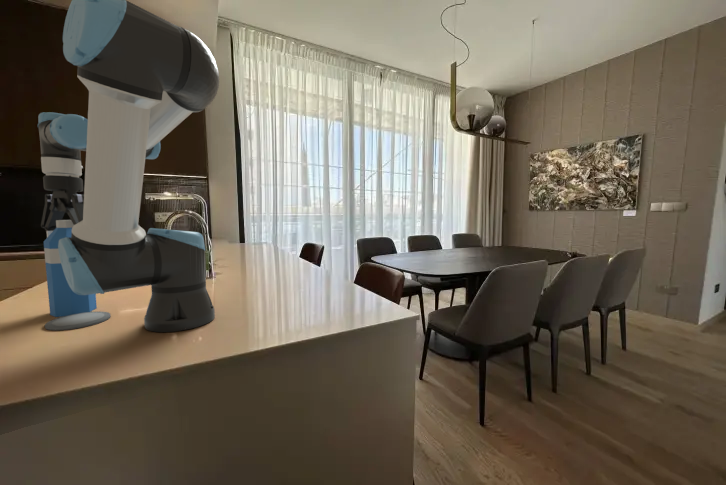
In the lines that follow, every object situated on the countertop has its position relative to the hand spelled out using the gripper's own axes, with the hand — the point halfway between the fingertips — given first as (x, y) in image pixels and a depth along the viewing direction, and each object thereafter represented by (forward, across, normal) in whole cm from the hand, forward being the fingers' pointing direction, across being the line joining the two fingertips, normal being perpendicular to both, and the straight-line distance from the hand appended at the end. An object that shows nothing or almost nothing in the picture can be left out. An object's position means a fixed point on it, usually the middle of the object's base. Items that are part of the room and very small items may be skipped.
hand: (69, 255), depth 83 cm
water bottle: (+16, 0, 0) cm, 16 cm away
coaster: (+15, -12, +4) cm, 19 cm away
